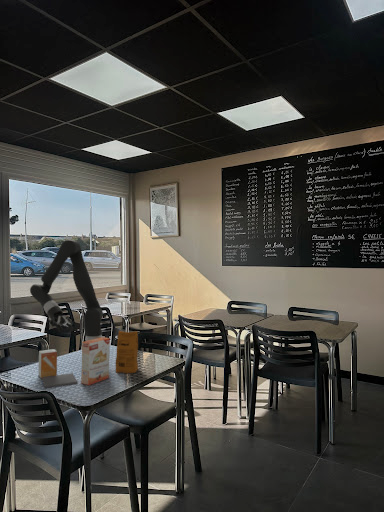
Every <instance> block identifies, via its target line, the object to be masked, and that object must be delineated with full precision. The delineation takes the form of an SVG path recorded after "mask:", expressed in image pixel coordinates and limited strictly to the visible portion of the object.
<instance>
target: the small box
mask: <svg viewBox="0 0 384 512" xmlns="http://www.w3.org/2000/svg"><path fill="white" fill-rule="evenodd" d="M57 371H58V351H57V350H56V349H55V348H54V349H53V348H52V349H45V350H39V351H38V376H39V378H40V379H42V377H47V376H55V375H58V372H57Z"/></svg>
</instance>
